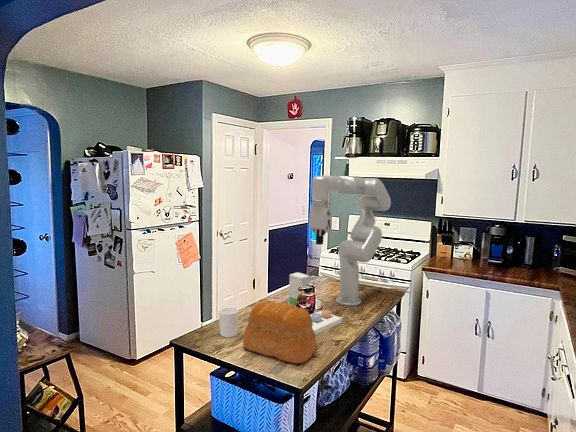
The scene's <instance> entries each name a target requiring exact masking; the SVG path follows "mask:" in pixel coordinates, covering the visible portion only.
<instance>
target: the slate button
mask: <svg viewBox="0 0 576 432" xmlns="http://www.w3.org/2000/svg"><path fill="white" fill-rule="evenodd" d="M314 313H315V314H314ZM314 313H311V314H312V322H315V323H319V322H321V314H317V313H316V312H314Z"/></svg>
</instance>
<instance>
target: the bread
mask: <svg viewBox="0 0 576 432" xmlns="http://www.w3.org/2000/svg"><path fill="white" fill-rule="evenodd" d="M310 315H311V313H309V311H308V310H307V309H306V308H305V307H296V306H294V305H291V304H288V303H285V302H274V301H273V300H272V301H271V300H265V301H262V302H260V303H258V304H256V305H254V307H253V308H252V309H251V311H250V312H249V315H248V317H247V322H248V323H247V325H246V327H245V329H244V335H243V340H242V342H243V346H244V348H246V349H247V350H248V351H251V352H255V353H257V354H261V355H264V356H267V357H274V358H276V359H278V360H280V361H284V362H287V363H292V364H303V363H305V362H307V361H308V360H309V359H310V358H311V357H313V356H314V354H315V351H316V350H317V347H318V343H317V339H316V337H317V336H316V335H315V333H314V331H313V328H312V318H311V316H310Z"/></svg>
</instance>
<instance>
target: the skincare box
mask: <svg viewBox="0 0 576 432" xmlns="http://www.w3.org/2000/svg"><path fill="white" fill-rule="evenodd" d="M310 281H311V275H308V274H305V273H302V272H298V271H297V272H294V273H290V274H289V283H288V285H289V286H288V302H287V304H291V305H294V306H296V301H297V294H298V288H299V287H301V286H306V285H309V286H310Z"/></svg>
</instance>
